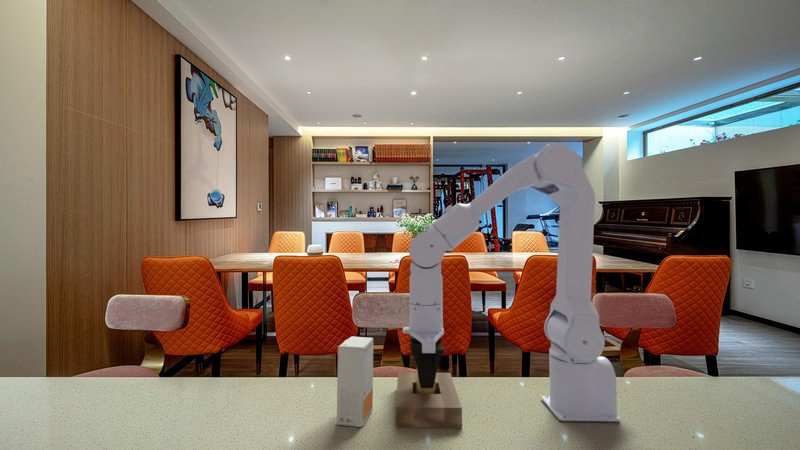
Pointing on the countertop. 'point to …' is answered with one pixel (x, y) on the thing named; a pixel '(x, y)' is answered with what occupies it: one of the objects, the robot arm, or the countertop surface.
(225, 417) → the countertop surface
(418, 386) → the peg
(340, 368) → the skincare box
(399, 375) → the socket block
